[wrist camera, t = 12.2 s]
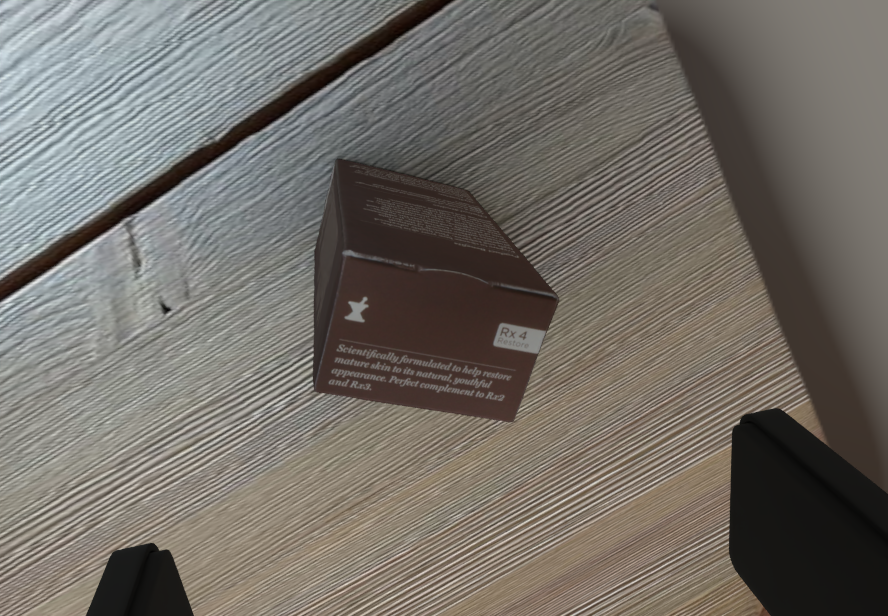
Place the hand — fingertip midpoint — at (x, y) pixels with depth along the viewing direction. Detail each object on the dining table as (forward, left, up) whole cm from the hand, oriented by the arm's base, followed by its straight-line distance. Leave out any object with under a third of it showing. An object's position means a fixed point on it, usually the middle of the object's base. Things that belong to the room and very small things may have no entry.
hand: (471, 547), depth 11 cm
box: (0, +1, -20) cm, 20 cm away
